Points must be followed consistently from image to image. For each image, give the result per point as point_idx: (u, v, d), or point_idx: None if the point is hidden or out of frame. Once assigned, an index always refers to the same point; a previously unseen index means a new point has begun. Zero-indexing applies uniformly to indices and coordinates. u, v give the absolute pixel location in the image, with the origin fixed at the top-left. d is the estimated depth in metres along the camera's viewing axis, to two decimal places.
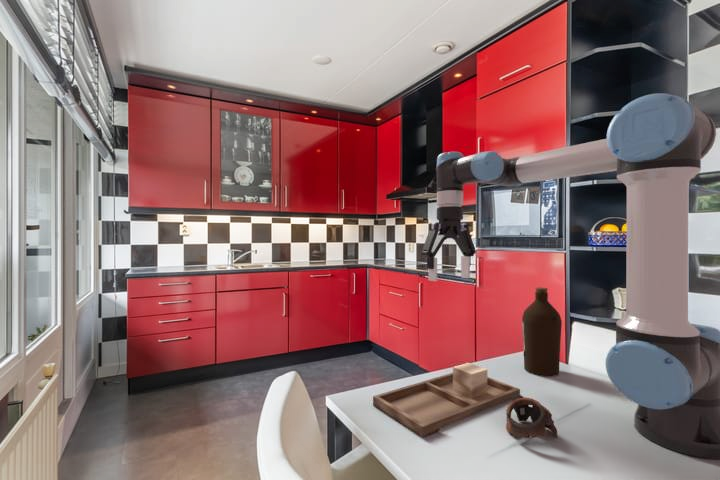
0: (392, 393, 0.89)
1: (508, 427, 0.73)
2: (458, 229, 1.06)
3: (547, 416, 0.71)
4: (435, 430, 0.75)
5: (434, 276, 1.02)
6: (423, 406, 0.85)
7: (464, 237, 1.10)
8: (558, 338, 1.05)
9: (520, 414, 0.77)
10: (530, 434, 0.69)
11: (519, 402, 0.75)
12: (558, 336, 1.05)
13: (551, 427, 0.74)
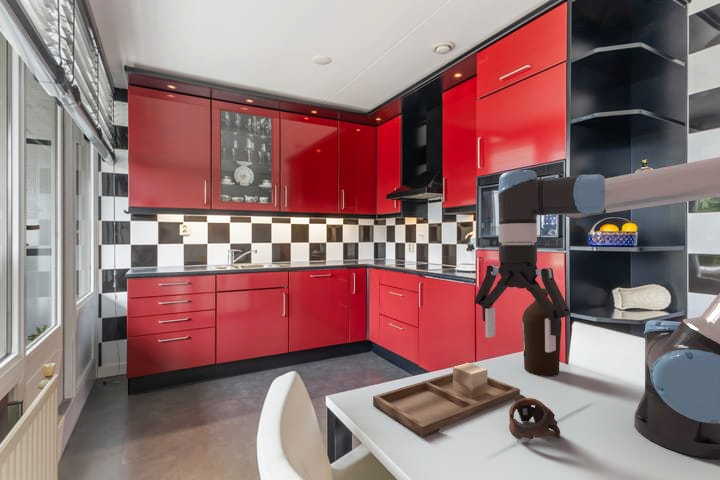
0: (392, 393, 0.89)
1: (511, 428, 0.73)
2: (519, 276, 0.75)
3: (550, 416, 0.70)
4: (435, 430, 0.75)
5: None
6: (423, 406, 0.85)
7: None
8: (558, 338, 1.05)
9: (523, 414, 0.77)
10: (533, 434, 0.69)
11: (522, 402, 0.75)
12: (558, 336, 1.05)
13: (554, 427, 0.74)
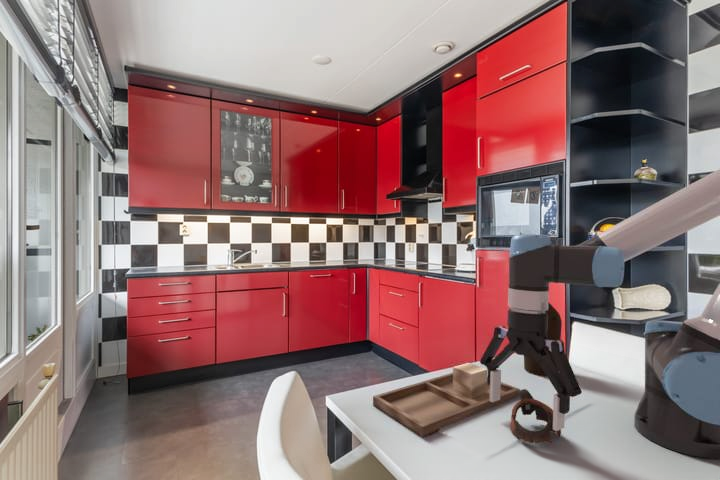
0: (392, 393, 0.89)
1: (512, 427, 0.73)
2: (528, 345, 0.72)
3: None
4: (435, 430, 0.75)
5: None
6: (423, 406, 0.85)
7: None
8: (558, 338, 1.05)
9: (525, 409, 0.77)
10: (534, 440, 0.69)
11: (526, 403, 0.73)
12: (558, 336, 1.05)
13: None
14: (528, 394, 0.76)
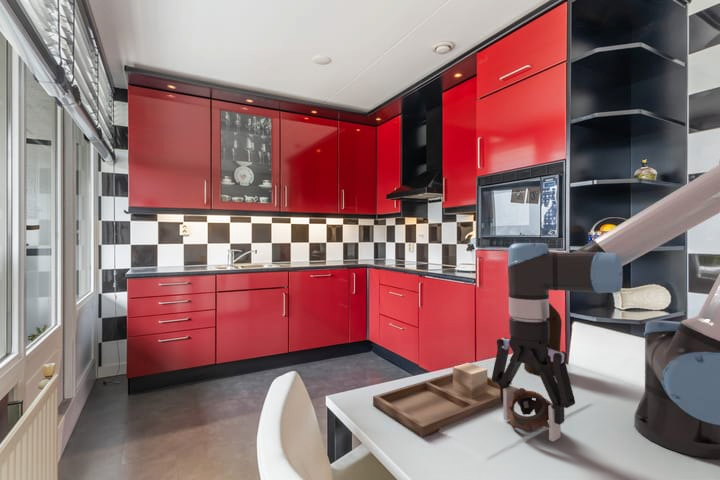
0: (392, 393, 0.89)
1: (511, 420, 0.74)
2: (530, 354, 0.72)
3: None
4: (435, 430, 0.75)
5: None
6: (423, 406, 0.85)
7: None
8: (558, 338, 1.05)
9: (524, 407, 0.79)
10: (532, 426, 0.70)
11: (522, 395, 0.76)
12: (558, 336, 1.05)
13: None
14: (524, 391, 0.79)
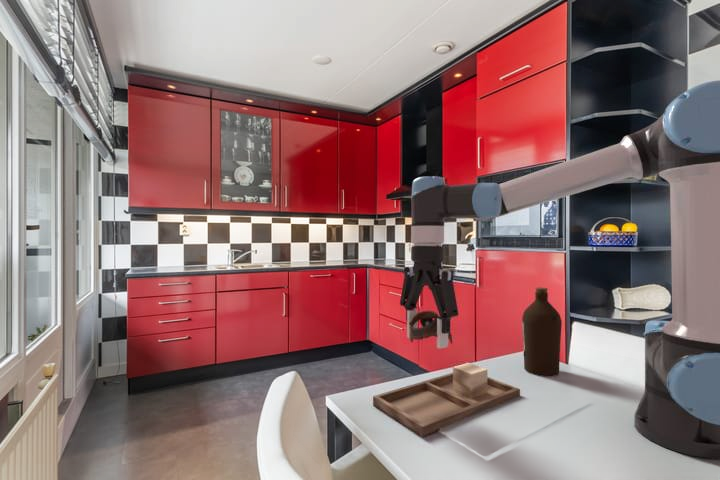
0: (392, 393, 0.89)
1: (409, 334, 0.84)
2: (425, 275, 0.82)
3: None
4: (435, 430, 0.75)
5: None
6: (423, 406, 0.85)
7: None
8: (558, 338, 1.05)
9: None
10: (423, 335, 0.80)
11: (422, 314, 0.86)
12: (558, 336, 1.05)
13: (448, 335, 0.84)
14: None
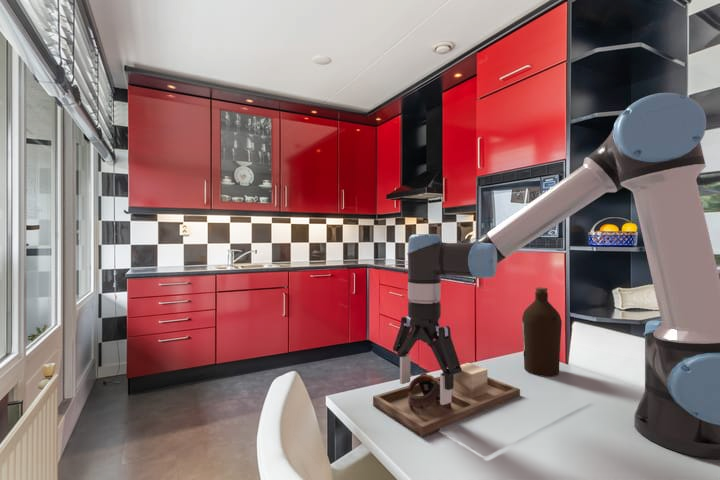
0: (392, 393, 0.89)
1: (408, 400, 0.84)
2: (422, 331, 0.82)
3: (439, 389, 0.81)
4: (435, 430, 0.75)
5: None
6: None
7: None
8: (558, 338, 1.05)
9: (424, 389, 0.88)
10: (422, 404, 0.80)
11: (420, 378, 0.86)
12: (558, 336, 1.05)
13: None
14: (425, 375, 0.89)
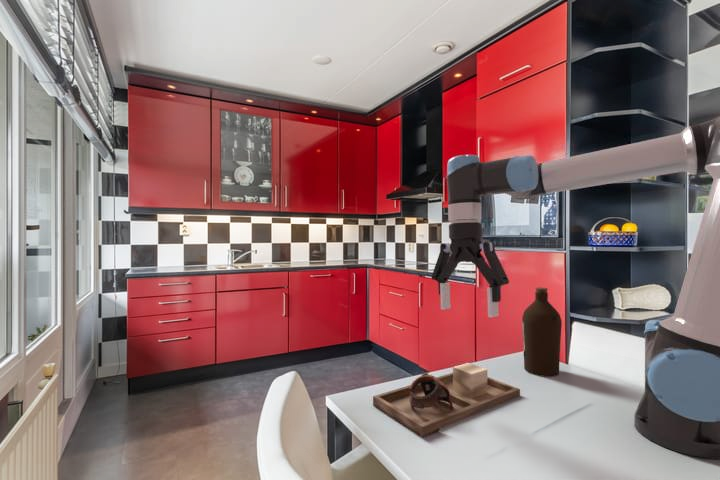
0: (392, 393, 0.89)
1: (410, 400, 0.84)
2: (465, 251, 0.83)
3: (441, 390, 0.81)
4: (435, 430, 0.75)
5: None
6: None
7: None
8: (558, 338, 1.05)
9: (426, 390, 0.88)
10: (424, 405, 0.80)
11: (422, 379, 0.86)
12: (558, 336, 1.05)
13: (449, 400, 0.84)
14: None
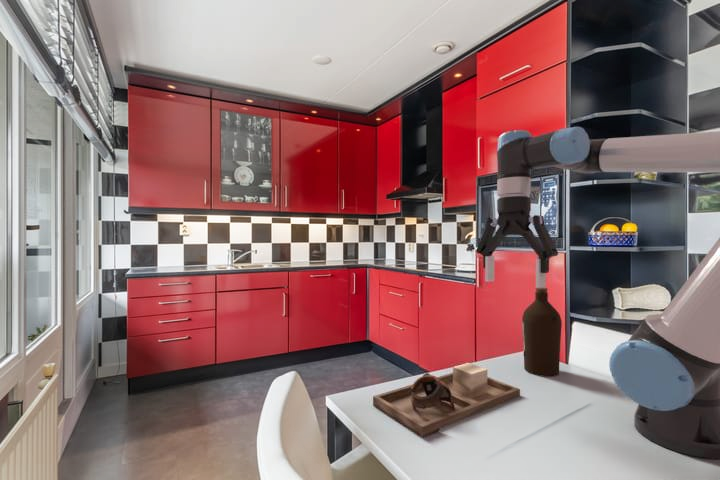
0: (392, 393, 0.89)
1: (411, 400, 0.83)
2: (514, 224, 0.86)
3: (443, 390, 0.81)
4: (435, 430, 0.75)
5: None
6: None
7: None
8: (558, 338, 1.05)
9: (427, 390, 0.88)
10: (426, 405, 0.80)
11: (423, 379, 0.85)
12: (558, 336, 1.05)
13: (450, 400, 0.84)
14: None
